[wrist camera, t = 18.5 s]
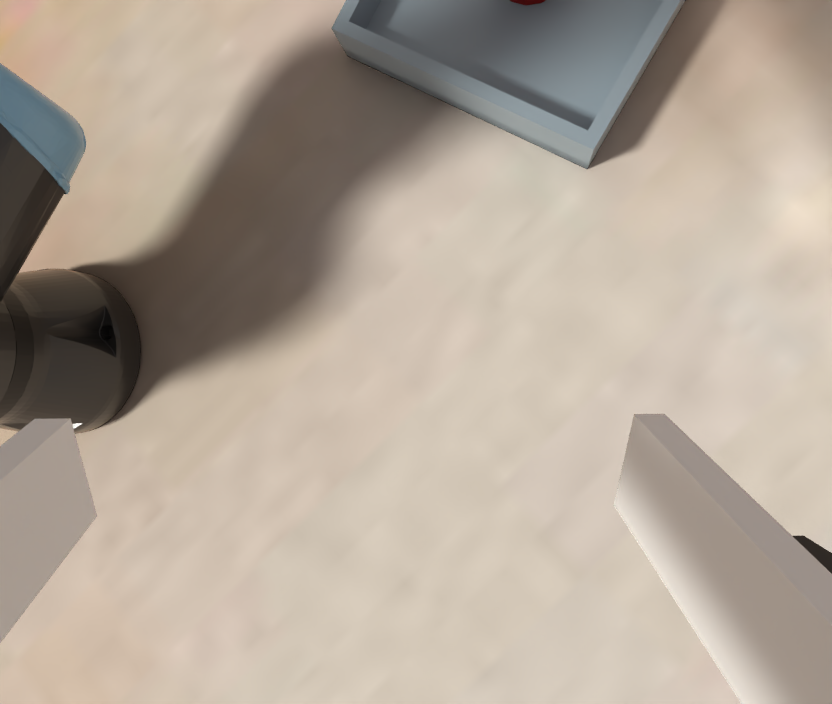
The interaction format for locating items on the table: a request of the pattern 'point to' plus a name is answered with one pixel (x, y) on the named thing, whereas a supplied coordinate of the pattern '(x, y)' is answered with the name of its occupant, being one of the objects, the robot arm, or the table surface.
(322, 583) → the table surface
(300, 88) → the table surface
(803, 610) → the robot arm
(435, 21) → the tray
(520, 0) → the plastic cup
